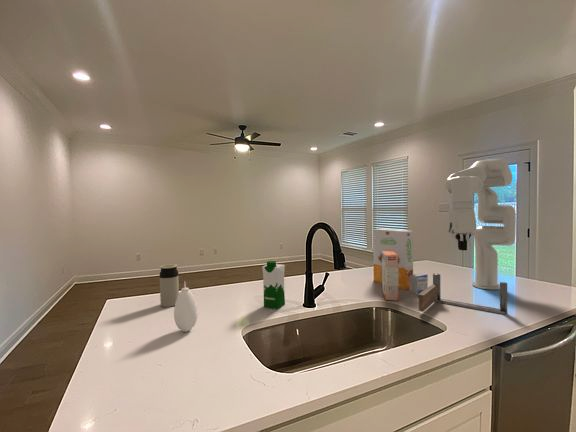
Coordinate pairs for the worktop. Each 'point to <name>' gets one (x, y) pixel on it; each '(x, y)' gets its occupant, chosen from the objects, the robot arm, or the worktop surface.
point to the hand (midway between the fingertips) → (462, 249)
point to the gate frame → (495, 310)
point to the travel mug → (169, 285)
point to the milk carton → (273, 284)
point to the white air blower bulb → (185, 310)
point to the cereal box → (401, 246)
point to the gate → (427, 297)
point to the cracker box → (390, 275)
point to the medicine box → (418, 283)
